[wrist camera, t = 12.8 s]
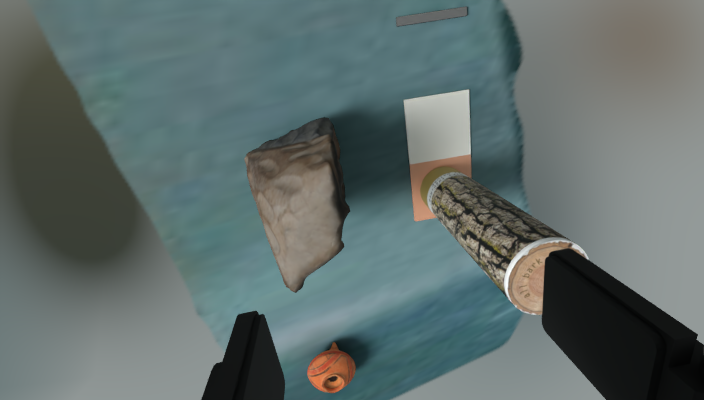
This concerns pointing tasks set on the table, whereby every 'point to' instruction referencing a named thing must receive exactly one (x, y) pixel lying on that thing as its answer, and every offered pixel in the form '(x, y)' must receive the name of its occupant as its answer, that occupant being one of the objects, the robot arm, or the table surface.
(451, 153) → the board
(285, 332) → the table surface
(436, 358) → the table surface
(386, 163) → the table surface
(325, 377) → the pot
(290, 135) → the brown owl figurine
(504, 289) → the birch log
